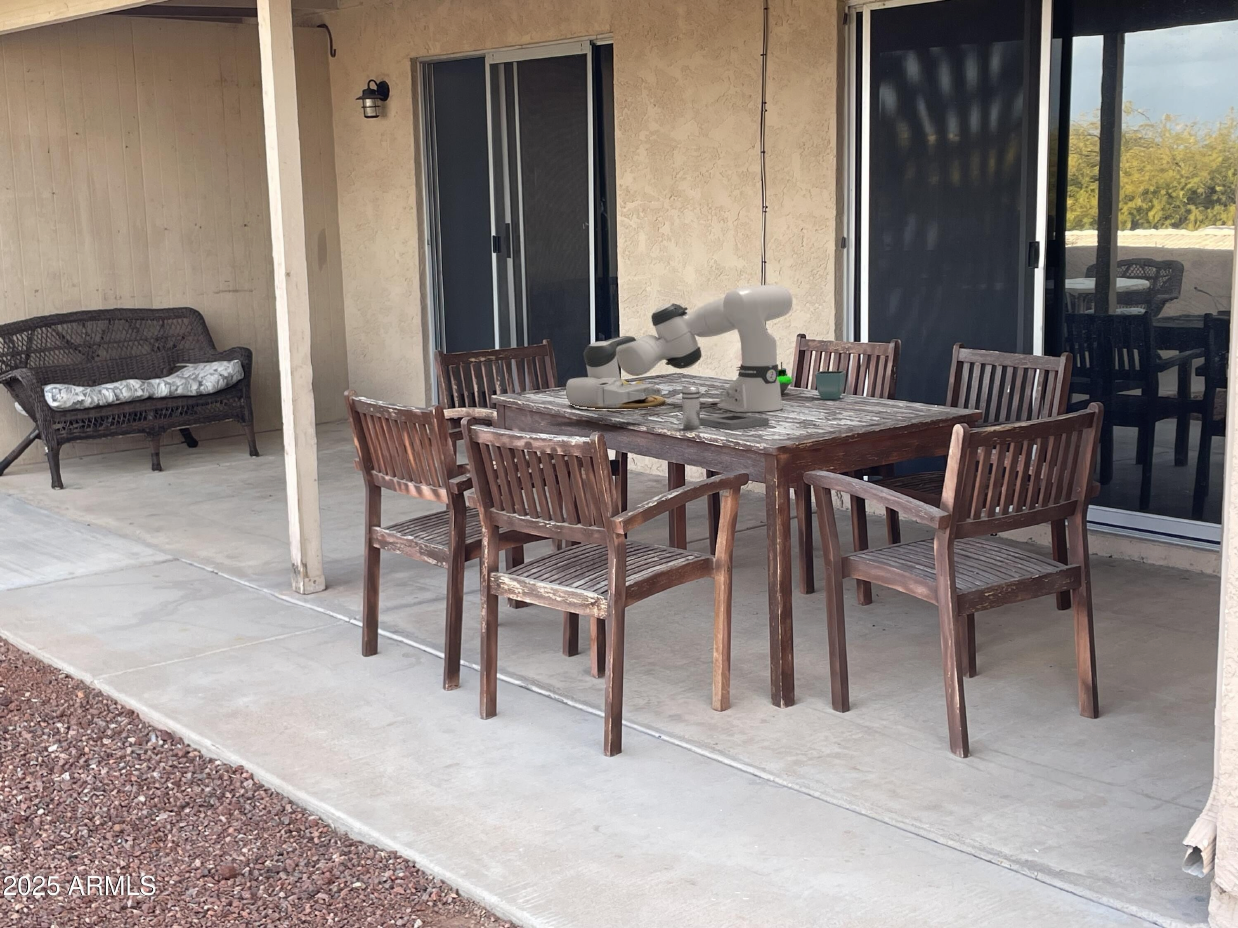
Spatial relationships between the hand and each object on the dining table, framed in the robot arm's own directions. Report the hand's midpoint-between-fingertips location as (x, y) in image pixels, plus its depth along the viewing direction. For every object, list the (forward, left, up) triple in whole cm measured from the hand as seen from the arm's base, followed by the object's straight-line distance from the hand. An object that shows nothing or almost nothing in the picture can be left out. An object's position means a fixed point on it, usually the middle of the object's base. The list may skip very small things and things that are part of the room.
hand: (652, 394), depth 406 cm
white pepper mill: (+11, +6, -10) cm, 16 cm away
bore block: (+14, +19, -10) cm, 25 cm away
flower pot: (-8, +78, -10) cm, 79 cm away
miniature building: (-32, +74, -10) cm, 81 cm away
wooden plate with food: (-51, +21, -11) cm, 56 cm away
